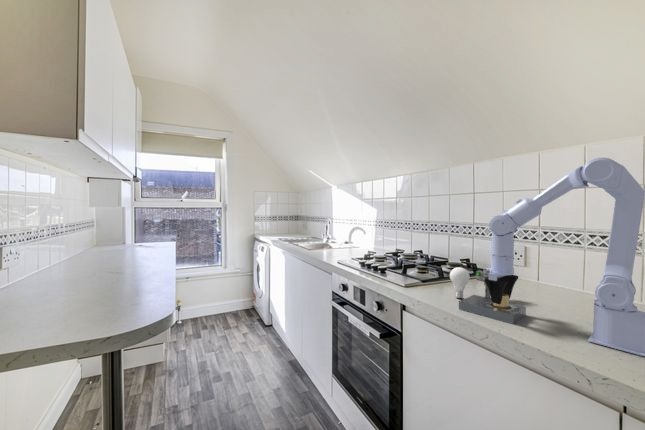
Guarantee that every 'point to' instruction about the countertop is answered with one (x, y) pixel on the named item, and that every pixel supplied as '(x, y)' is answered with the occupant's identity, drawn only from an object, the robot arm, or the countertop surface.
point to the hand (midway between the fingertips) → (501, 300)
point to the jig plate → (492, 309)
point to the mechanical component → (480, 277)
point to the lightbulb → (459, 280)
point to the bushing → (503, 302)
